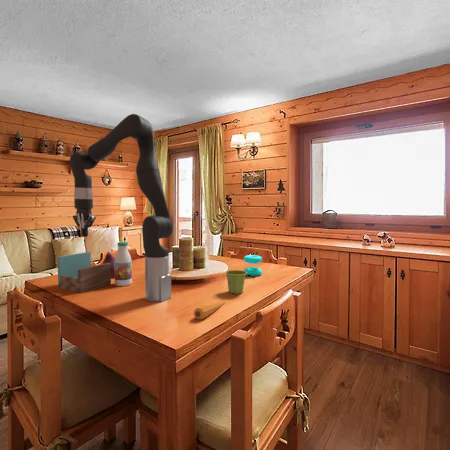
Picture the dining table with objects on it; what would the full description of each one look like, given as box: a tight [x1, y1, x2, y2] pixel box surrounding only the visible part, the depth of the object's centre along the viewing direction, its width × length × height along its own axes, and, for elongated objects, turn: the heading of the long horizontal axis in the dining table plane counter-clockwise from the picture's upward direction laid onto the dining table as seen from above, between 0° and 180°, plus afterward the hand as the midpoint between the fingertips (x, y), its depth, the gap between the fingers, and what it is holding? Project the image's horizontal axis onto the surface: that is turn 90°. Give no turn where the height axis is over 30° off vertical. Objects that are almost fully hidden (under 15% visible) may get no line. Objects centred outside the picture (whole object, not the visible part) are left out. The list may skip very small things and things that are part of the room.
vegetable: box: [102, 251, 115, 280], centre depth 156 cm, size 10×10×15 cm
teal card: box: [56, 251, 92, 284], centre depth 142 cm, size 2×16×12 cm, turn 153°
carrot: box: [193, 302, 225, 320], centre depth 108 cm, size 20×4×4 cm, turn 153°
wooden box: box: [57, 263, 112, 294], centre depth 139 cm, size 15×16×10 cm
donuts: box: [243, 254, 263, 277], centre depth 164 cm, size 10×10×10 cm
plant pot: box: [224, 269, 247, 295], centre depth 131 cm, size 9×9×9 cm
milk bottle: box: [114, 241, 133, 287], centre depth 142 cm, size 8×8×20 cm
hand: (84, 236), depth 137 cm, fingers closed
